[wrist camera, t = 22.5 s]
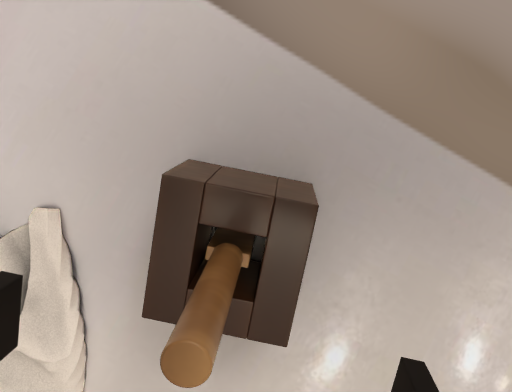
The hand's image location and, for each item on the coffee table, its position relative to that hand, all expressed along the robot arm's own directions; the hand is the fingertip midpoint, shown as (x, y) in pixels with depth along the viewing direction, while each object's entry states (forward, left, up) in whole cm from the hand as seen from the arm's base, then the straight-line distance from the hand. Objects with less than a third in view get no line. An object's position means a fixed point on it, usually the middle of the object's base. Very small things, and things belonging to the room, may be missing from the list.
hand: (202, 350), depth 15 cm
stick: (0, 0, -14) cm, 14 cm away
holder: (0, 0, -14) cm, 14 cm away
